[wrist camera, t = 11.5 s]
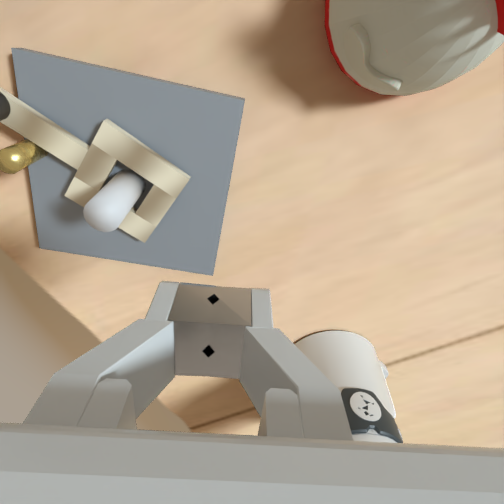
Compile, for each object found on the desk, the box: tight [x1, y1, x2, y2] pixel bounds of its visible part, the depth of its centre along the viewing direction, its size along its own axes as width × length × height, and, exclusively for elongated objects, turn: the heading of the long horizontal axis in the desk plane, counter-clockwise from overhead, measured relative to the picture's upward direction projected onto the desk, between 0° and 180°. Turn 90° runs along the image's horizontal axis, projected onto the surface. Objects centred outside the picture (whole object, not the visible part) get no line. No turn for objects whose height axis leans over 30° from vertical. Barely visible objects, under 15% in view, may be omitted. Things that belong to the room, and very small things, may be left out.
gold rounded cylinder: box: [0, 139, 49, 174], centre depth 30 cm, size 2×2×5 cm
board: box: [11, 48, 245, 276], centre depth 31 cm, size 20×20×10 cm
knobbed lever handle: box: [0, 87, 191, 243], centre depth 31 cm, size 18×9×4 cm, turn 52°
